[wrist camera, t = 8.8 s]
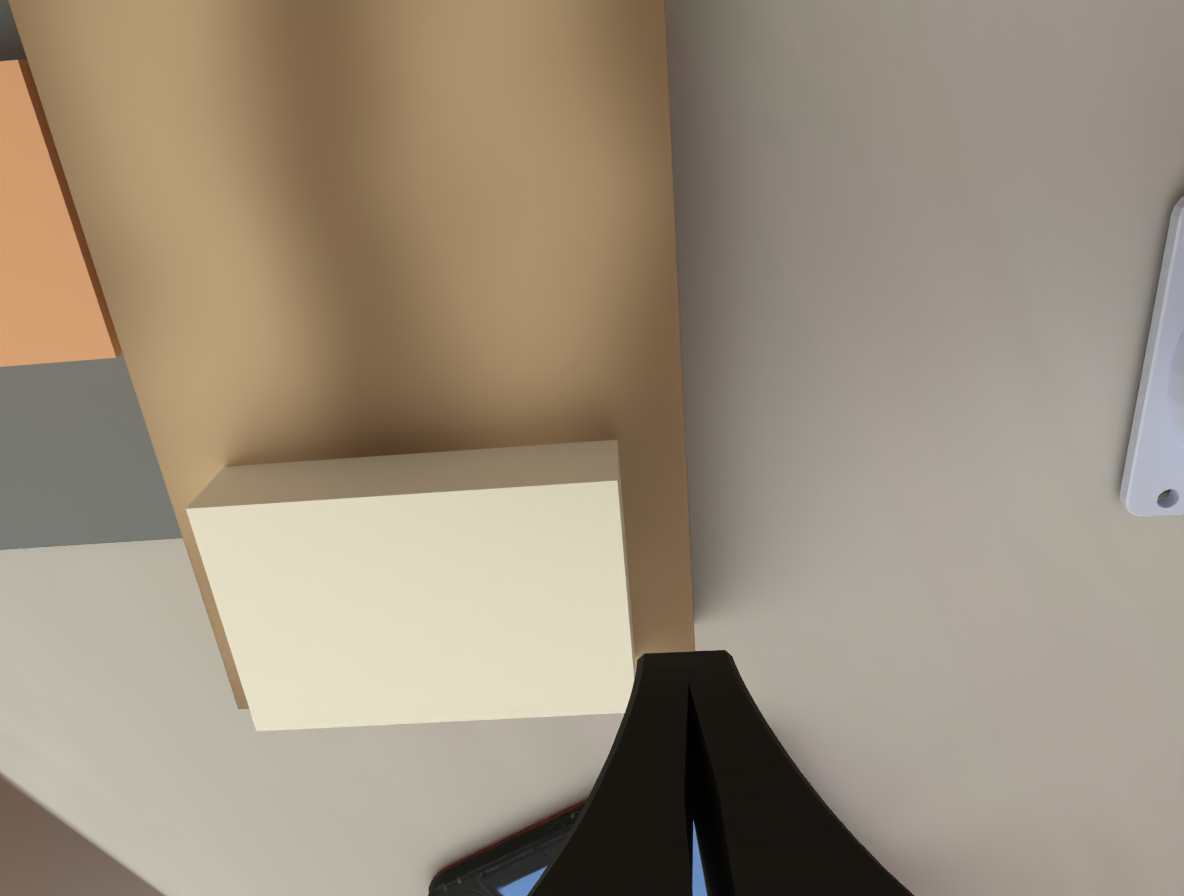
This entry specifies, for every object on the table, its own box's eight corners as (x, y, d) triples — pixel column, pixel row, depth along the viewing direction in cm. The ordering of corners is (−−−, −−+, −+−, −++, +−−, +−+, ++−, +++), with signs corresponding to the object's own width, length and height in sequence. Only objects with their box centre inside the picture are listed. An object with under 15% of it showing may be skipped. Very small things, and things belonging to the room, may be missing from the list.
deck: (639, -399, 16) (641, -473, 13) (689, 626, 25) (696, 685, 22) (-13, -317, 16) (-114, -375, 14) (272, 649, 25) (238, 709, 23)
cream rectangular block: (617, 439, 20) (617, 480, 18) (635, 656, 22) (637, 712, 20) (224, 466, 20) (185, 509, 18) (285, 675, 23) (256, 730, 21)
